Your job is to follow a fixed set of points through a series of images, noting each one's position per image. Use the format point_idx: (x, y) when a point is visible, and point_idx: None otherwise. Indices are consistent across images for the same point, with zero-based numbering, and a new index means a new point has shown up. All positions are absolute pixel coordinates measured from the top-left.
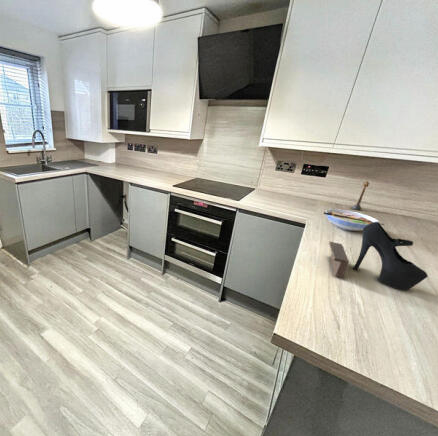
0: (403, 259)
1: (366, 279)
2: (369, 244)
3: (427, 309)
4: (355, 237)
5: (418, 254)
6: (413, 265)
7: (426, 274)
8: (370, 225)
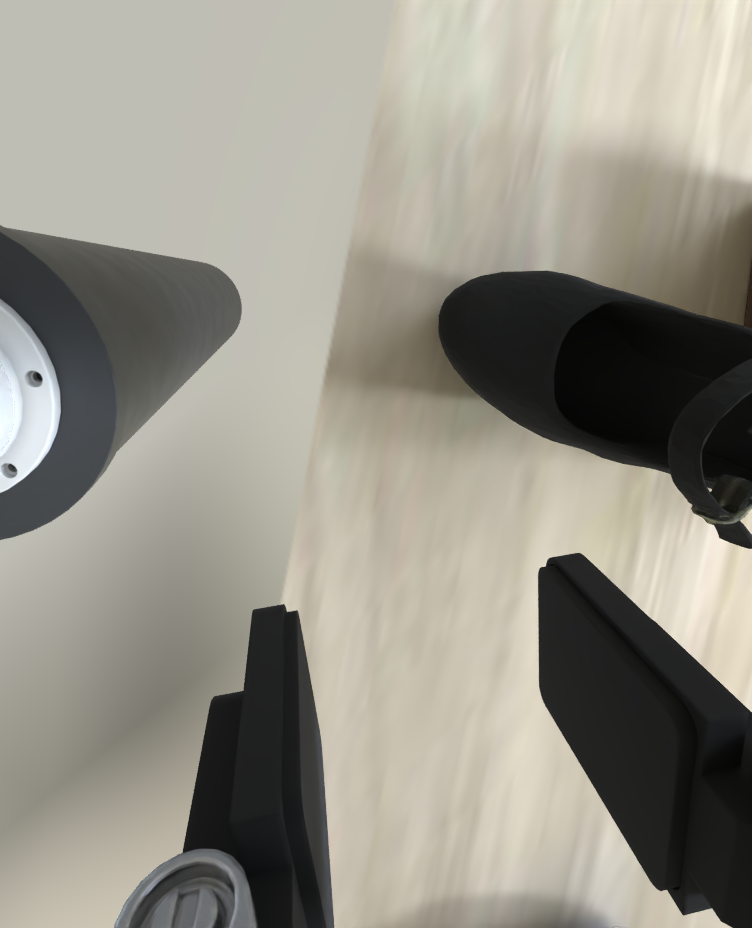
0: (571, 425)
1: None
2: None
3: (396, 131)
4: (551, 867)
5: None
6: (553, 319)
7: (456, 308)
8: None
